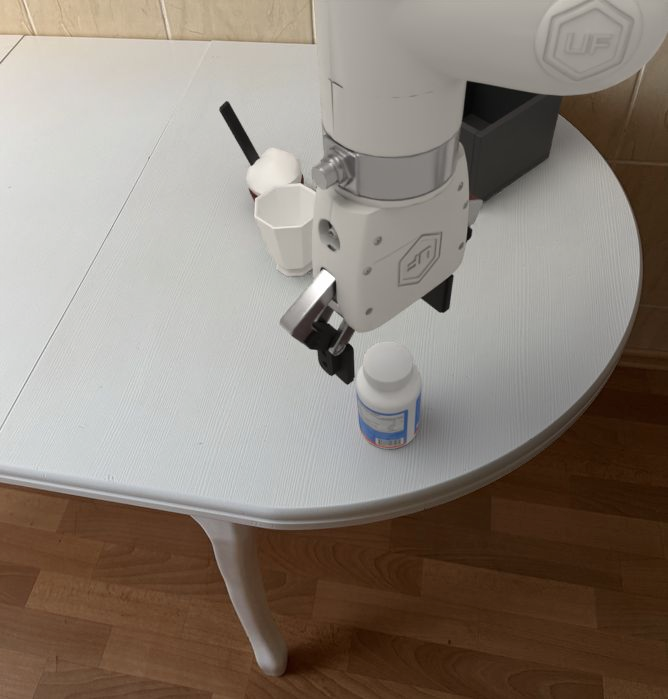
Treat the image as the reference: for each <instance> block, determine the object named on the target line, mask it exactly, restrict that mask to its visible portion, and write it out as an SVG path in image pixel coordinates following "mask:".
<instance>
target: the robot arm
mask: <svg viewBox="0 0 668 699" xmlns="http://www.w3.org/2000/svg"><path fill="white" fill-rule="evenodd" d="M313 11H314V26H315V28H314V29H315V40H316V42H315V44H316V56H317V70H318V71H317V72H318V80H319V81H318V82H319V101H320V114H321V116H320V117H321V134H322V149H323V157H322V158H321V159H320V162H319V163H318V164H316V165H314V166H313V167H312V168H311V177H312V180H313V182H314V184H315V185H316V191H315V192H316V197H315V205H314V214H313V227H312V266H313V269H312V278H313V280H312V281H311V283H310V284H308V286H307V287H306V288H305V289H304V291H303V292H302V293H301V294H300V295H299V296H298V298H297V299H296V300H295V301H294V302H293V303H292V305H291V306H290V307H289V308H288V309H287V311H286V312H284V314H283V315H282V316H281V318H280V319H279V326H280V327H281V328H282V329H284V330H285V332H287V334H289V335H290V336H291V337H292V338H293V339H295V340H296V341H298V342H299V343H300V344H302V345H304V346H305V347H307V348H308V349H309V350H310V351H311V350H312V351H317V352H316V353H317V362H318V364H319V366H320V368H321V369H322V370H323V371H324V372H325V373H326V374H327V375H329V376H330V377H333V376H335V377H337V378H338V379H339V380H341V381H342V382H343V383H344V384H345V385H347V386H349V385H350V384H352V383H353V382H354V381H355V379H356V378H355V377H356V372H355V371H356V370H355V349H354V347H353V346H352V344H351V343H349V342H350V341H351V339H352V337H353V335H354V334H355V332H357V333H359V334H362V333H363V334H364V333H369V332H372V331H374V330H376V329H378V328H380V327H382V326H383V325H385V324H386V323H388V322H389V321H390V320H392V319H394V318H396V317H397V316H398V315H399V314H400V313H402V312H403V311H405V310H406V309H408V307H410V306H412V305H413V304H415V303H416V302H418V301H419V300H420V299H421V300H422V301H424V302H425V303H426V304H428V305H429V306H430V307H432V309H434V310H435V311H436V312H438V313H440V314H441V313H442V314H445V313H446V312H447V311H449V310H450V307H451V300H452V299H451V298H452V293H453V286H454V285H453V284H454V277H455V275H454V274H455V272H456V271H457V270H458V269H459V267H460V266H461V265H462V262H463V260H464V256H465V251H466V246H467V243H468V241H470V239H472V236H473V228H471V226H472V225H474V224H475V222H476V220H477V218H478V216H479V214H480V211H481V210H482V207H483V205H484V203H483V200H481V199H480V198H478V197H476V196H475V195H473V194H472V193H470V192H469V178H468V169H467V161H466V156H465V151H464V148H463V146H462V144H461V143H460V142H459V141H460V133H461V124H462V117H463V108H464V100H465V91H466V83H467V81H472V82H477V83H483V84H488V85H494V86H499V87H504V88H509V89H515V90H520V91H525V92H531V93H538V94H547V95H560V96H562V97H564V96H565V97H566V96H580V95H587V94H593V93H596V92H601V91H604V90H607V89H609V88H611V87H614V86H616V85H619V84H621V83H622V82H625V81H626V80H628V79H629V78H631V77H632V76H634V75H635V74H636V73H638V72H639V71H640V70H641V69H643V67H644V66H646V64H647V63H649V62H650V61H651V60H652V58H653V57H654V56H655V55H656V53H657V52H658V51H659V50H660V47H661V46H662V44H663V43H664V41H665V39H666V38H667V34H668V0H313ZM334 312H335V313H336V314H337V315H338V316H340V317H341V318H342V320H341V322H340V324H339V326H338V328H337V329H336V328H335V327H334V326H333V325H331V324H330V322H329V321H330V319H331V317H332V315H333V314H334Z"/></svg>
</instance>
